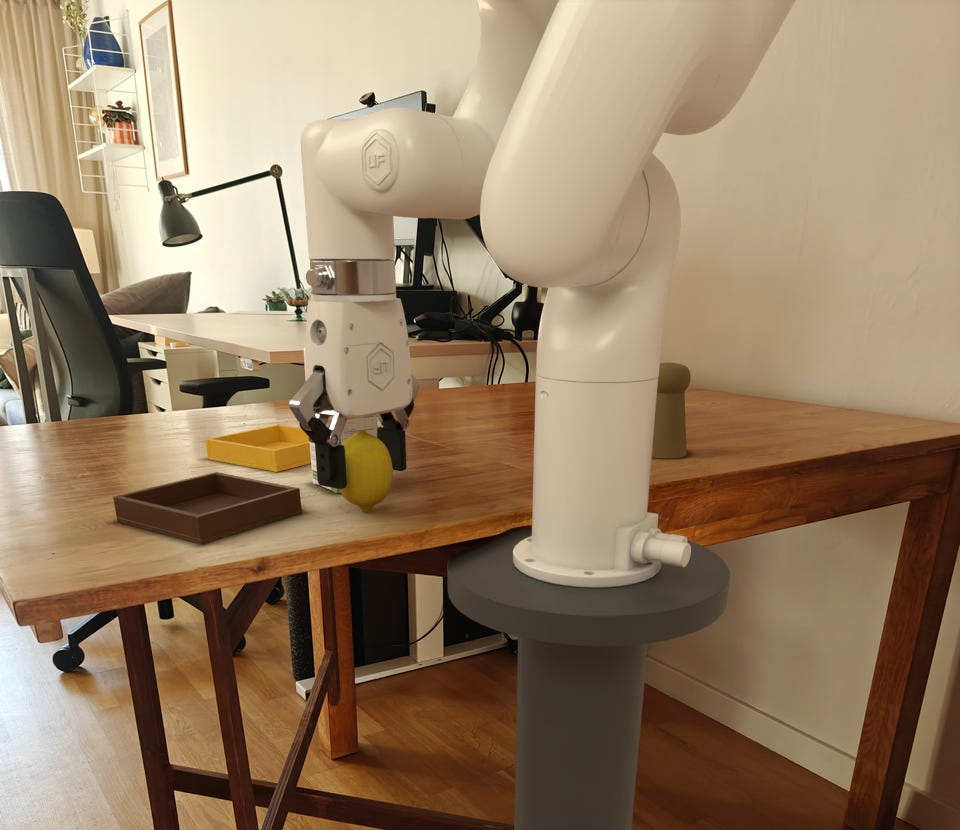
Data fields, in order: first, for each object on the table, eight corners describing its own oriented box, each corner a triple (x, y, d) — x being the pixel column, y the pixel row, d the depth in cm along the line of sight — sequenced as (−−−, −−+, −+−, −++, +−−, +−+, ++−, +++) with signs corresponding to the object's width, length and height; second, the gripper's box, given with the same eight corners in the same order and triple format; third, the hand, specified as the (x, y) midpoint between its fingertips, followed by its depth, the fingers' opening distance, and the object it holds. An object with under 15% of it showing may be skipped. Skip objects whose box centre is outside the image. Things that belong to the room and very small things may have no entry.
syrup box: (310, 483, 95) (299, 346, 89) (357, 476, 99) (349, 342, 93) (335, 494, 91) (325, 350, 85) (383, 485, 94) (376, 346, 88)
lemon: (387, 502, 88) (383, 423, 85) (400, 516, 83) (397, 433, 80) (333, 507, 87) (327, 426, 83) (343, 522, 82) (337, 437, 78)
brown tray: (302, 513, 85) (299, 488, 84) (201, 544, 75) (197, 517, 74) (219, 495, 91) (216, 471, 90) (117, 522, 82) (112, 496, 81)
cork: (645, 459, 107) (652, 366, 102) (633, 448, 112) (639, 360, 108) (692, 458, 107) (702, 366, 103) (678, 448, 113) (686, 360, 108)
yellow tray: (348, 453, 110) (346, 434, 109) (276, 472, 100) (274, 450, 99) (280, 443, 116) (278, 424, 115) (207, 459, 107) (205, 439, 106)
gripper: (314, 286, 68) (329, 503, 75) (445, 281, 81) (447, 466, 88) (249, 284, 72) (269, 490, 79) (384, 279, 85) (391, 456, 92)
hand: (363, 476), depth 84 cm, fingers open, 8 cm apart
